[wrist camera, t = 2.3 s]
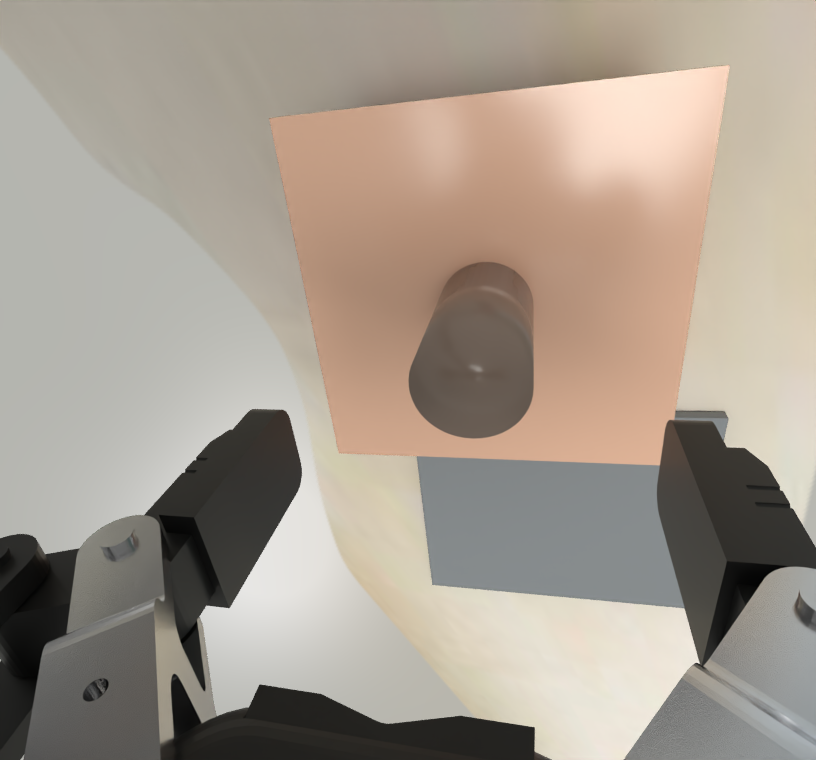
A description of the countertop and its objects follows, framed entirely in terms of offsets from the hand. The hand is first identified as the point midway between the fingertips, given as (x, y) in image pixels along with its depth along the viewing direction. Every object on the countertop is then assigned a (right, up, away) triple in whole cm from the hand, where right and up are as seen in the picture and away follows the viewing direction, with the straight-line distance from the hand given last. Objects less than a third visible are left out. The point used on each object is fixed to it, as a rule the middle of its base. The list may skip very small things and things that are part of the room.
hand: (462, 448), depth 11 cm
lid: (+2, +4, +7) cm, 9 cm away
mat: (+8, -6, +20) cm, 23 cm away
